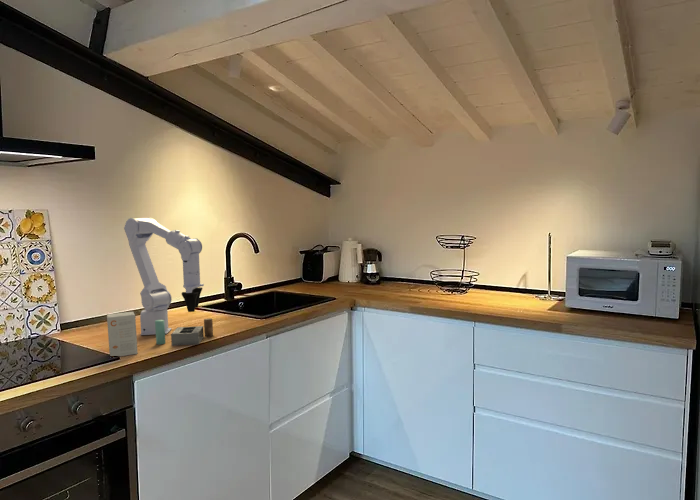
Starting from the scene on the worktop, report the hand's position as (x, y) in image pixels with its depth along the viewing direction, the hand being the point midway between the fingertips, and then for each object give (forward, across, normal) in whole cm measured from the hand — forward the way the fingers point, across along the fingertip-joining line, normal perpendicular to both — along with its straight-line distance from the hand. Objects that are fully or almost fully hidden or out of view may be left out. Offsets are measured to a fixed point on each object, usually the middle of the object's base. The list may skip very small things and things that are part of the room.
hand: (193, 309), depth 182 cm
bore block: (+10, -6, +1) cm, 12 cm away
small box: (+10, -18, +19) cm, 28 cm away
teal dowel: (+10, -7, +10) cm, 16 cm away
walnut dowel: (+10, 0, -5) cm, 11 cm away
